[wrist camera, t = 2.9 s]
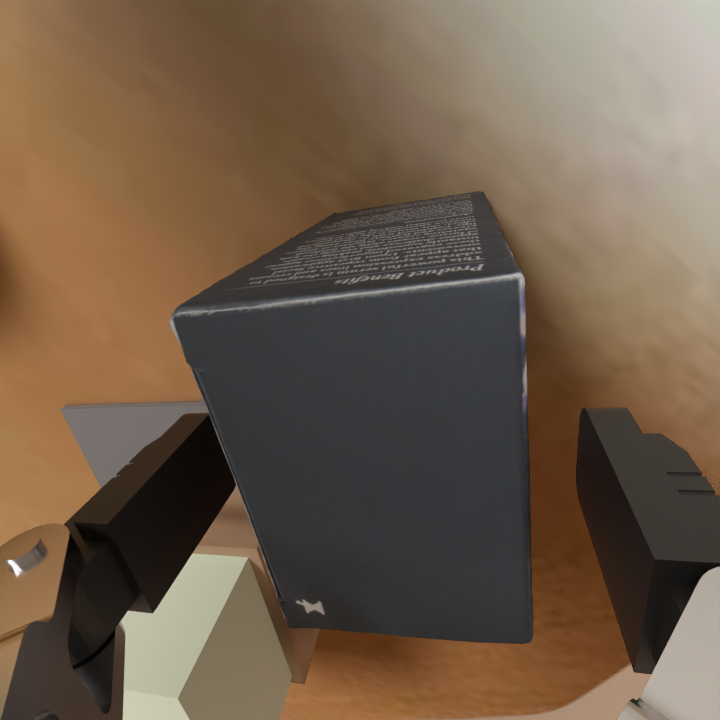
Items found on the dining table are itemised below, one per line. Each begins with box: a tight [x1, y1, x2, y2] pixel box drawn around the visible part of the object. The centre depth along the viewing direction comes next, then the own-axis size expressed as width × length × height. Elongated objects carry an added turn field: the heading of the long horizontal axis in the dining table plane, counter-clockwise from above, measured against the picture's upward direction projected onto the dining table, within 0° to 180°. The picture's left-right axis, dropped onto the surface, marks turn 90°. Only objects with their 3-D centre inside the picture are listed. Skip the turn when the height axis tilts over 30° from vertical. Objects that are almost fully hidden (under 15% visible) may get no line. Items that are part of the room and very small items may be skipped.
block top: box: [121, 554, 292, 720], centre depth 18 cm, size 8×8×5 cm
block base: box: [192, 485, 320, 684], centre depth 22 cm, size 9×9×5 cm
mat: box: [61, 401, 209, 488], centre depth 25 cm, size 16×16×1 cm
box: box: [170, 192, 533, 644], centre depth 12 cm, size 8×6×11 cm
